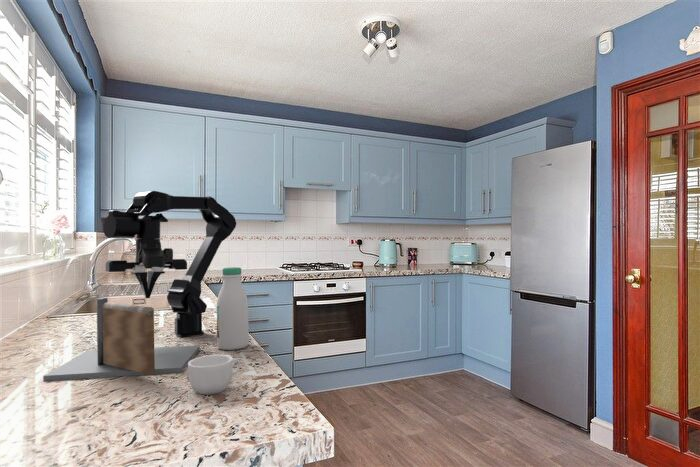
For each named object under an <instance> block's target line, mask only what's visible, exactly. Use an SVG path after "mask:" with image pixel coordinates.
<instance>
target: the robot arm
mask: <svg viewBox="0 0 700 467" xmlns="http://www.w3.org/2000/svg"><path fill="white" fill-rule="evenodd" d="M170 210H198V211H200V213H201V214H200V215H201V216H202V218H203V221H205V223H206V226H205V238H204V239H203V241H202V242H201V245H200V247H199V249H198V251H197V252H196V254H195V257H194V258H193V260H192V262H191V264H190V265H189V267H188V262H187V260H186V259H185V258H174V249H173V248H172V247H171V248H169V247H168V248H167V247H165V248H164V249H162V242H161V223H168V222H169V219H167V217H165V215H164V214H163V213H162V212H168V211H170ZM155 213H156V214H155ZM151 214H155V215H151ZM139 217H142V218H139ZM102 226H103V227H102V228H103V233H104V236H105V237H106V238H107V239H134V238H135V237H136V240H135V261H132V262H131V261H130V262H128V260H125V259H114V260H113V259H112V260H110V259H109V260H107V261H106V263H105V272H108V273H121V272H125V271H126V270H131V271H130V274H131V275H134V276H135V277H136V279H137V281H138V283H139V285H140V288H141V291H142V292H143V295H144V297H145V299H150V298H151V295H152V293H153V290H154V288H155V285H156V282H157V280H158V279H159V277H160V276H161V275H163V274H166V271H165V269H169V270H175V271H177V270H178V271H179V270H180V271H182V270H187V271H186V273H185V275H184V276H183V277H182V278H181V279H179V278H174V279H173V281H172V284H171V286H170V287H169V289H168V290H167V296H166V300H167V302H168V305H169V306H170V308H171V310H172V313H176V317H175V318H174V334H175V335H177V336H179V337H180V338H183V337H185V338H186V337H190V336H198V335H203V334H205V331H203V313H206V310H207V307H208V306H207V304H206V302H205V301H203V299H201V295H202V282H203V279H204V278H205V276H206V273H207V271H208V270H209V267H210V265H211V264H212V261H213V260H214V257H215V256H216V254H217V251H218V250H219V248H220V246H221V244H222V243H223V241H225V240H226V239H227V238H228V237H230V236H231V234H233V232H234V230H235V229H236V226H237V221H236V218H235V216H234V214H232V213H231V211H229V210H228V209H227V208H226V207H224V206H223V205H222V204H220V203H218V201H217V200H216V199H215V198H214V197H212V196H183V195H182V196H181V195H179V196H177V195H171V194H168V193H166V192H161V191H156V190H150V191H141V192H137V193H136V194H135V195H134V197H133V199H132V203H131V204H130V205H129V206H128V208H127V209H126V210H125V211H120V210H109V211H108V213H107V217H105V219H104V223H103V224H102ZM146 269H150V270H148V271H146Z"/></svg>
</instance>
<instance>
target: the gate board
mask: <svg viewBox="0 0 700 467" xmlns="http://www.w3.org/2000/svg"><path fill="white" fill-rule="evenodd" d="M200 350H201V345H199V344H195V345H194V344H193V345H175V346H160V347H159V346H158V347H155V346H154V358H155V372H153V373H150V374H149V375H160V374H162V375H163V374H177V373H182V372H183V371H184V370H185V369H186V367H188V362H189V361H190V360H192V359H194V357H195V356H196V355H197V353H198V352H199V351H200ZM143 375H145V376H146V375H148V374H145V373H141V372H136V371H132V370H128V369H124V368H120V367H116V366H112V365H107V364H106V365H98V359H97V350H86V351H84V352H83V353H81V354H79V355H78V356H76V357H74V358H71V360H70V359H69V361H67V362H66V363H64V364H62V365H59V366H58V367H57V368H55V369H53V370H51V371H49V372H47V373H45V374H44V375H42V376H43V377H42V378H43V379H42V380H43V382H45V381H46V382H47V381H50V382H51V381H61V380H63V381H64V380H66V381H67V380H80V379H95V378H97V379H98V378H111V377H112V378H113V377H114V378H115V377H129V376H143Z"/></svg>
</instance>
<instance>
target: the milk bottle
mask: <svg viewBox="0 0 700 467" xmlns="http://www.w3.org/2000/svg"><path fill="white" fill-rule="evenodd" d="M241 276H242V268H241V267H233V266H232V267H224V268H222V278H223V282H222V285H221V288H220V290H219V292H218V295H217V299H216V345H217V348H218V349H220V350H224V351H234V350H240V349H244V348H246V347H248V346H249V342H250V341H249V338H250V335H249V333H250V332H249V331H250V330H249V327H250V326H249V301H248V296H247V292H246V290H245V288H244V286H243V284H242V279H241Z"/></svg>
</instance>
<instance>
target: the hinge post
mask: <svg viewBox="0 0 700 467" xmlns="http://www.w3.org/2000/svg"><path fill="white" fill-rule="evenodd" d="M106 302H108V297H99V298H97V299H96V337H97V338H96V340H97V341H96V344H97V346H96V347H97V350H96V351H97V359H98V365H106V364H103V307H102V306H103V304H104V303H106Z"/></svg>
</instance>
